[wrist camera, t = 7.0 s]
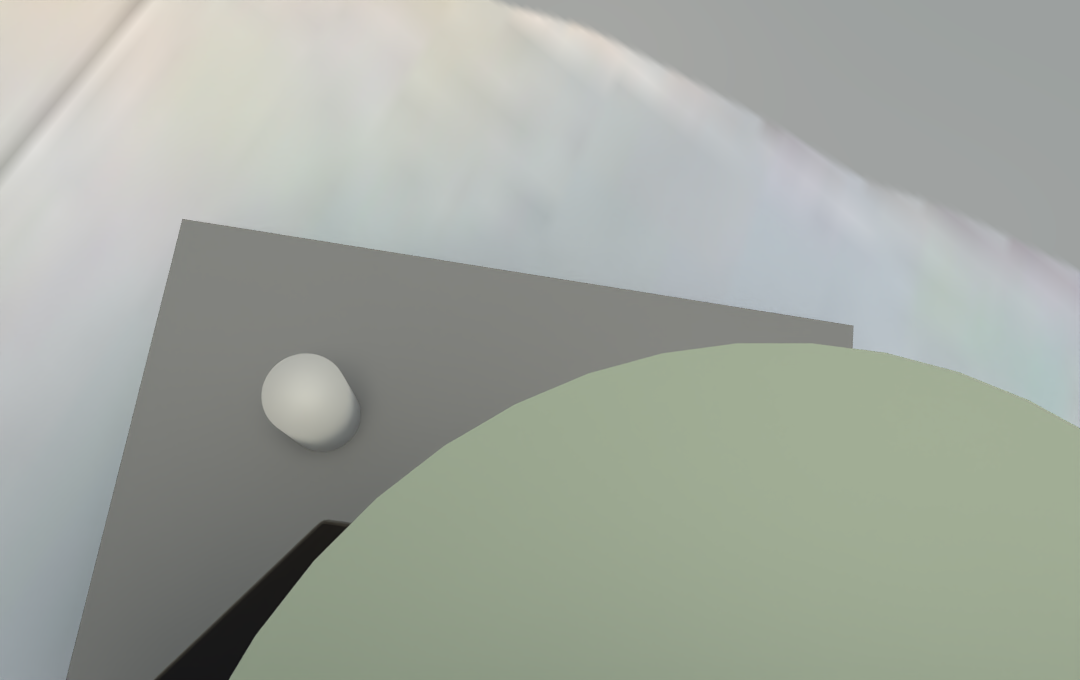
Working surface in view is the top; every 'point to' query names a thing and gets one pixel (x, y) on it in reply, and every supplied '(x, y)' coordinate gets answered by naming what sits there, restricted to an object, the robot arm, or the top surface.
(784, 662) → the post
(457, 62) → the top surface
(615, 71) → the top surface
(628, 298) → the peg board
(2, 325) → the top surface
